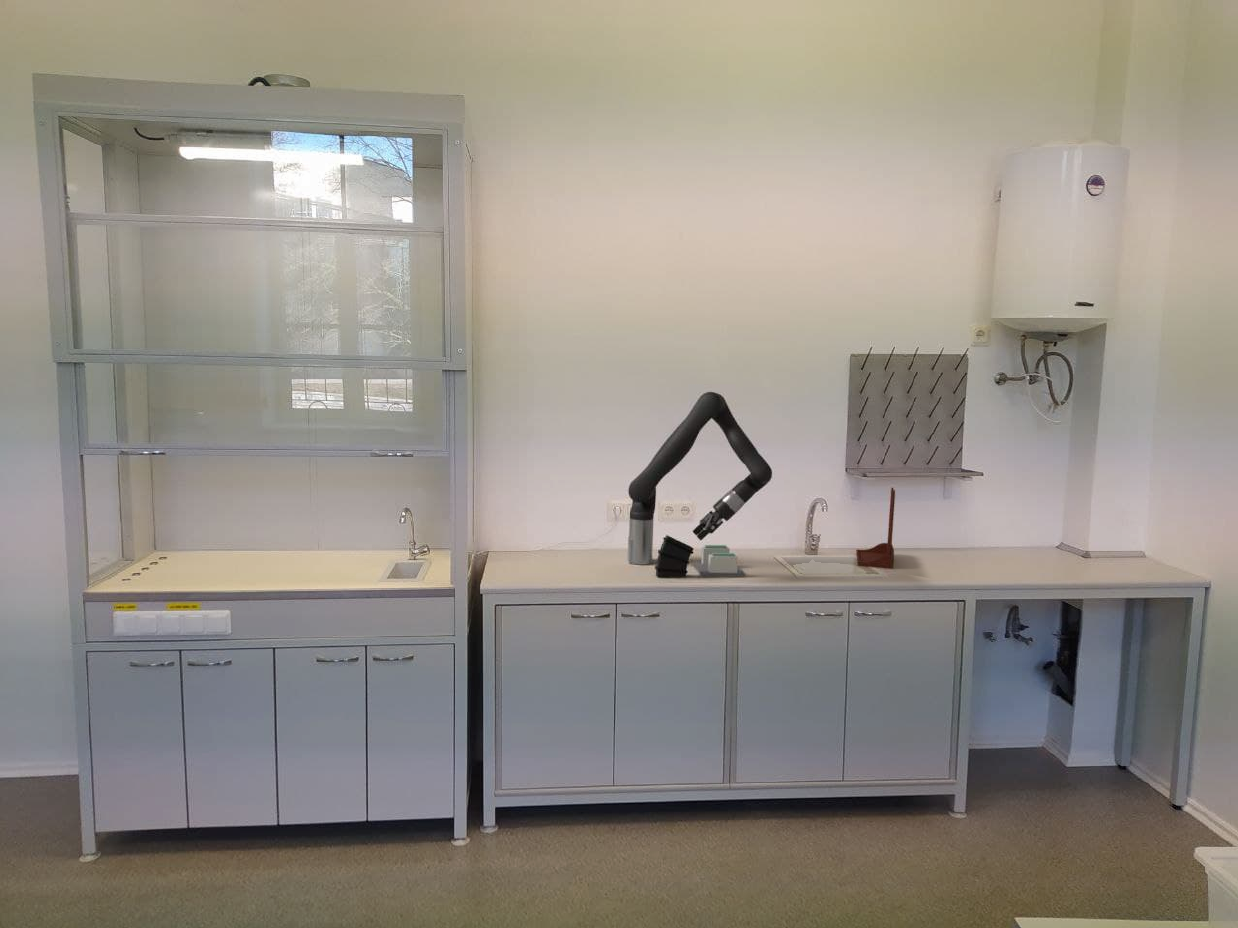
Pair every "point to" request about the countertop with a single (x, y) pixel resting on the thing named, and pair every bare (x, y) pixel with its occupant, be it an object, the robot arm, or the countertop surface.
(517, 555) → the countertop surface
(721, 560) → the mounting plate
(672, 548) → the magazine
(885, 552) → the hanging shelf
